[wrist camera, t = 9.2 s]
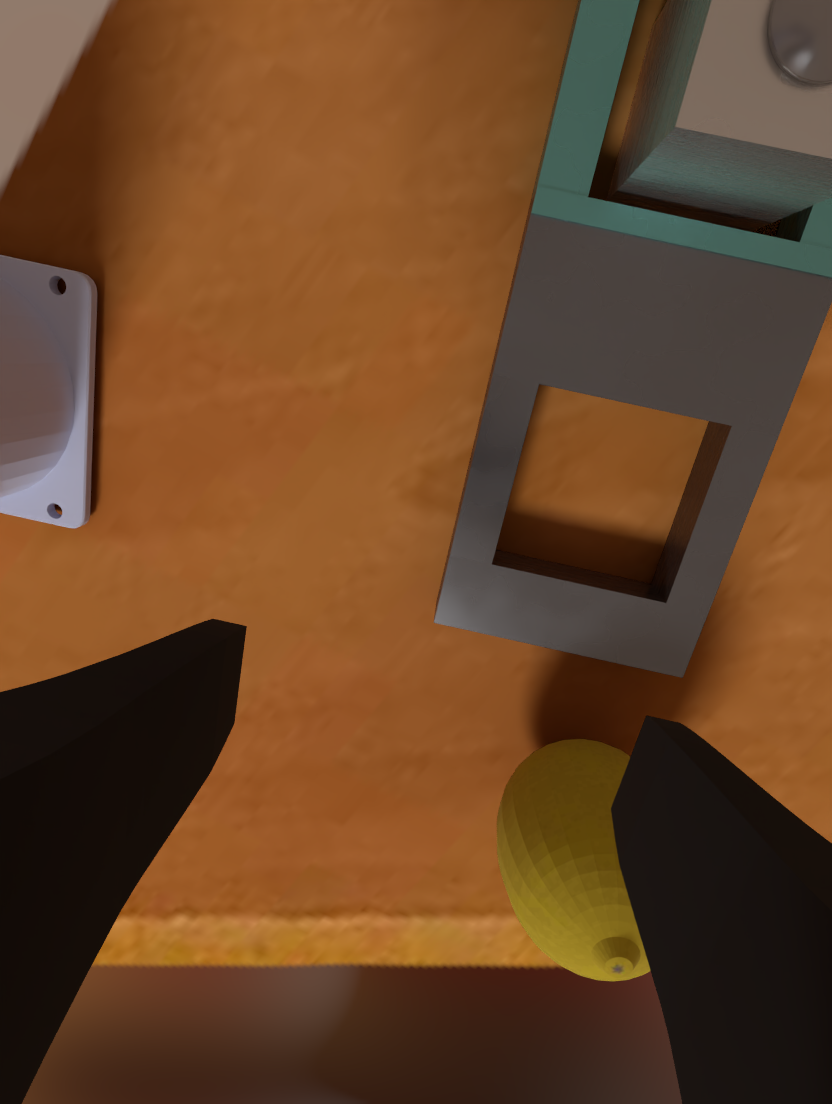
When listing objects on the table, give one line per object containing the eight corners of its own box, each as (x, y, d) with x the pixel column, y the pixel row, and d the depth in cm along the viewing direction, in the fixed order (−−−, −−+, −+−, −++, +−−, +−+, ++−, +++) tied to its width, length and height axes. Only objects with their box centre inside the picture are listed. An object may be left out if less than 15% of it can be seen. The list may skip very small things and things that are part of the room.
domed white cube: (605, 202, 17) (678, 122, 11) (651, 28, 16) (762, -169, 10) (749, 232, 17) (900, 168, 11) (807, 59, 15) (1014, -119, 10)
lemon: (558, 666, 21) (609, 840, 14) (678, 752, 22) (790, 964, 14) (461, 769, 23) (458, 976, 15) (575, 846, 24) (627, 1081, 16)
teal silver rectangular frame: (436, 602, 21) (433, 623, 19) (615, -161, 14) (634, -225, 13) (666, 654, 21) (683, 679, 19) (950, -91, 14) (1011, -147, 13)
